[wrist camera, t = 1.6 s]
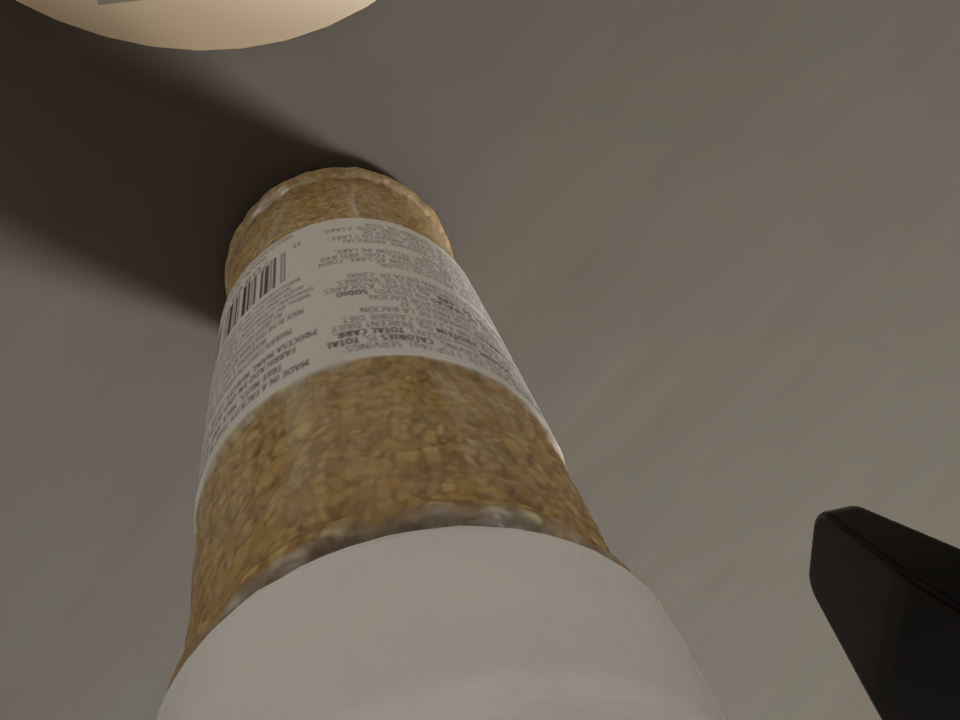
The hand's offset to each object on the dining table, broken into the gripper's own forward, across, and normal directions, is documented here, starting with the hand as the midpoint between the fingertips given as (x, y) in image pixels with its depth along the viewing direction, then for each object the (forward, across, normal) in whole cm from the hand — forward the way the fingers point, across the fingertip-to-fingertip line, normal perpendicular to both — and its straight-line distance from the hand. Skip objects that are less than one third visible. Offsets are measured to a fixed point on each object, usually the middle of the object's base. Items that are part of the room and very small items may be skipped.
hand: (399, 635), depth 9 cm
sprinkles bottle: (+10, 0, 0) cm, 10 cm away
